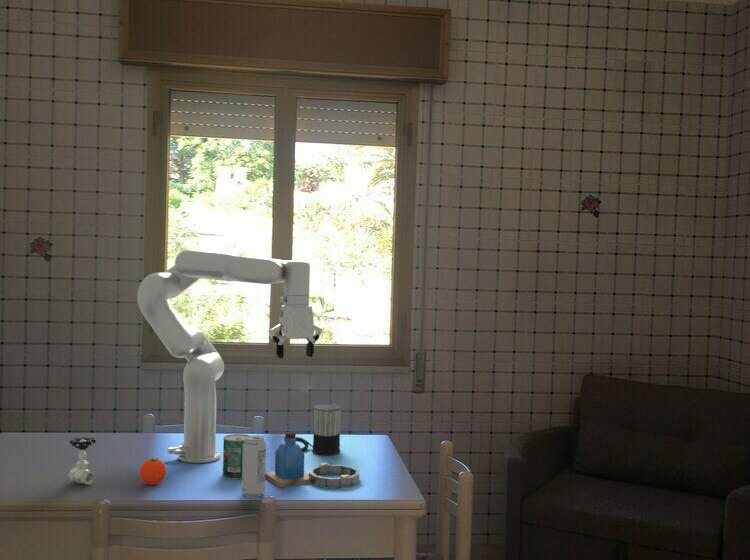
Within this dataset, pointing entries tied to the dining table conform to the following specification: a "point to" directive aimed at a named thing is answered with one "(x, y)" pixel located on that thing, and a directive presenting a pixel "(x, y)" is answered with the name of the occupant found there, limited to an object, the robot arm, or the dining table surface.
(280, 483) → the pad
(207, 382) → the robot arm
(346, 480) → the collar
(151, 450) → the dining table surface
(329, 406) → the milk frother
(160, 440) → the dining table surface
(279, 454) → the perfume bottle
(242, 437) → the canned tomato
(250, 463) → the energy drink can
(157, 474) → the clementine
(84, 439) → the valve
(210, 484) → the dining table surface
